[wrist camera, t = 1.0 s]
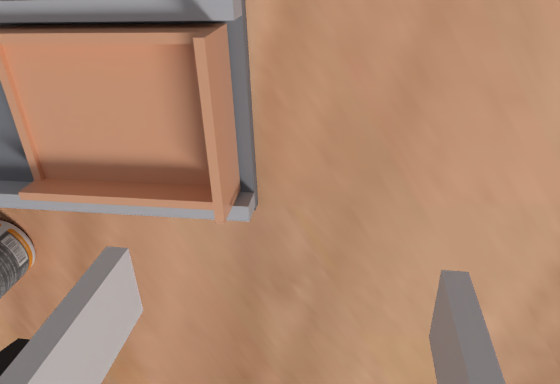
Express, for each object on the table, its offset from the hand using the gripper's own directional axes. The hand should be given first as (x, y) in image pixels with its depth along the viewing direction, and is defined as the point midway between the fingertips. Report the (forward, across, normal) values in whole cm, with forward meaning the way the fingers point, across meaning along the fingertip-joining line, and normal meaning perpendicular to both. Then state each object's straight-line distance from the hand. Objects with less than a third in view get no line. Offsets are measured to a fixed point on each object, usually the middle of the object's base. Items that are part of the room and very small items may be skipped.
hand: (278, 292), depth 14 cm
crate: (+16, -13, 0) cm, 21 cm away
